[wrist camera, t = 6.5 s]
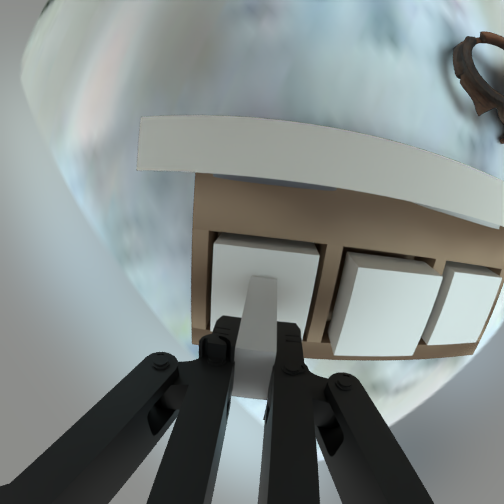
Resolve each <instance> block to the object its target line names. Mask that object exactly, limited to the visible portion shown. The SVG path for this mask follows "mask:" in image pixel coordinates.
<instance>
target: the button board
mask: <svg viewBox="0 0 504 504" xmlns="http://www.w3.org/2000/svg"><path fill="white" fill-rule="evenodd" d="M222 232H227V233H236V234H245V235H254V236H263V237H271V238H280V239H288V240H297V241H305V242H313V243H314V244H315V246H316V249H317V251H318V253H319V255H320V257H319V262H318V268H317V273H316V278H315V283H314V288H313V293H312V298H311V303H310V308H309V312H308V317H307V321H306V326H305V330H304V334H303V339H302V347H303V356H304V358H312V359H331V360H413V359H430V358H444V357H455V356H464V355H473V353H474V351H475V349H476V347H477V345H478V343H479V341H480V339H481V337H482V335H483V333H484V331H485V329H486V326H487V324H488V322H489V320H490V317H491V315H492V312H493V310H494V307H495V305H496V302H497V300H498V297H499V294H500V292H501V289H502V286H503V283H504V227H503V226H500V227H499V229H495V228H491V227H488V226H484V225H481V224H477V223H474V222H471V221H468V220H464V219H461V218H458V217H455V216H452V215H448V214H445V213H442V212H439V211H436V210H433V209H429V208H426V207H423V206H420V205H418V204H415V203H413V202H410V201H406V200H401V199H396V198H391V197H386V196H381V195H376V194H371V193H366V192H360V191H354V190H348V189H342V188H337V190H335V191H328V190H314V189H304V188H294V187H285V186H276V185H267V184H259V183H251V182H243V181H235V180H228V179H222V178H217V177H214V176H213V174H212V173H195V188H194V206H193V228H192V266H191V320H192V344H195V345H199V340H200V339H201V338H202V337H203V336H205V335H207V334H212V331H210V325H211V291H212V267H213V246H214V242H215V241H216V240H217V238H218V237H219V236H220V234H221V233H222ZM347 252H355V253H363V254H370V255H378V256H386V257H394V258H401V259H409V260H416V261H424V262H425V263H427V264H428V265H429V266H430V267H432V268H433V269H434V270H436V271H437V272H438V273H439V274H441V275H442V274H443V270H444V267H445V264H446V260H447V261H454V262H461V263H467V264H474V265H480V266H485V267H487V268H488V269H490V270H491V271H493V272H494V273H496V274H497V275H499V276H500V277H502V280H501V283H500V286H499V289H498V292H497V295H496V297H495V300H494V303H493V305H492V308H491V310H490V313H489V315H488V317H487V320H486V322H485V324H484V327H483V329H482V331H481V333H480V335H479V337H478V339H477V341H476V342H473V343H461V344H445V345H427V344H426V343H425V342H424V340H423V339H422V337H421V338H420V340H419V342H418V345H417V347H416V349H415V351H414V353H413V355H412V356H338V355H334V354H333V350H332V346H331V343H330V339H329V335H328V329H329V325H330V321H331V317H332V314H333V310H334V306H335V302H336V298H337V294H338V289H339V285H340V281H341V276H342V272H343V267H344V262H345V258H346V253H347Z"/></svg>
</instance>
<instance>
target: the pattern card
mask: <svg viewBox="0 0 504 504" xmlns="http://www.w3.org/2000/svg"><path fill="white" fill-rule="evenodd" d="M137 171H175V172H196V173H212V174H213V176H214V177H217V178H222V179H228V180H235V181H243V182H251V183H259V184H267V185H276V186H285V187H294V188H304V189H314V190H328V191H335V190H337V188H342V189H348V190H354V191H360V192H366V193H371V194H376V195H381V196H386V197H391V198H396V199H401V200H406V201H410V202H413V203H415V204H418V205H420V206H423V207H426V208H429V209H433V210H436V211H439V212H442V213H445V214H448V215H452V216H455V217H458V218H461V219H464V220H468V221H471V222H474V223H477V224H481V225H484V226H488V227H491V228H495V229H499V227H500V226H503V227H504V181H503V180H501V179H498V178H496V177H494V176H492V175H490V174H487V173H485V172H483V171H480V170H478V169H476V168H473V167H471V166H468V165H466V164H463V163H460V162H458V161H455V160H452V159H450V158H447V157H444V156H441V155H438V154H435V153H432V152H429V151H426V150H423V149H420V148H417V147H413V146H410V145H406V144H403V143H399V142H396V141H392V140H388V139H384V138H380V137H376V136H372V135H367V134H363V133H358V132H354V131H349V130H344V129H338V128H333V127H327V126H321V125H315V124H308V123H301V122H294V121H286V120H277V119H267V118H255V117H241V116H219V115H167V116H146V117H141V119H140V129H139V141H138V155H137Z"/></svg>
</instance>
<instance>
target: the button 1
mask: <svg viewBox="0 0 504 504" xmlns="http://www.w3.org/2000/svg"><path fill="white" fill-rule="evenodd" d="M319 257H320V255H319V253H318V251H317V249H316V246H315V244H314V243H313V242H305V241H297V240H288V239H280V238H271V237H263V236H254V235H245V234H236V233H227V232H222V233H221V234H220V236H219V237H218V238H217V240H216V241H215V242H214V246H213V267H212V291H211V325H210V331H212V332H213V329H214V326H215V323H216V321H217V320H218V319H219V318H220V317H221V316H223V315H225V316H232V317H240V318H242V314H243V310H244V305H245V301H246V296H247V292H248V287H249V282H250V278H251V276H253V277H262V278H271V279H277V321H280V322H290V323H296V324H297V326H298V327H299V328H300V330H301V338H302V339H303V334H304V330H305V326H306V321H307V317H308V312H309V308H310V303H311V298H312V293H313V288H314V283H315V278H316V273H317V268H318V262H319Z"/></svg>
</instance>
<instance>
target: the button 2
mask: <svg viewBox="0 0 504 504" xmlns="http://www.w3.org/2000/svg"><path fill="white" fill-rule="evenodd" d="M442 276H443V279H442V282H441V285H440V288H439V291H438V294H437V297H436V300H435V302H434V305H433V308H432V311H431V313H430V316H429V318H428V321H427V323H426V326H425V328H424V331H423V333H422V335H421V337H422V339H423V340H424V342H425V343H426V344H427V345H445V344H461V343H473V342H476V341H477V339H478V337H479V335H480V333H481V331H482V329H483V327H484V324H485V322H486V320H487V317H488V315H489V313H490V310H491V308H492V305H493V303H494V300H495V297H496V295H497V292H498V289H499V286H500V283H501V280H502V277H500V276H499V275H497V274H496V273H494V272H493V271H491V270H490V269H488V268H487V267H485V266H480V265H474V264H467V263H461V262H454V261H447V260H446V264H445V267H444V270H443V274H442Z"/></svg>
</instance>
